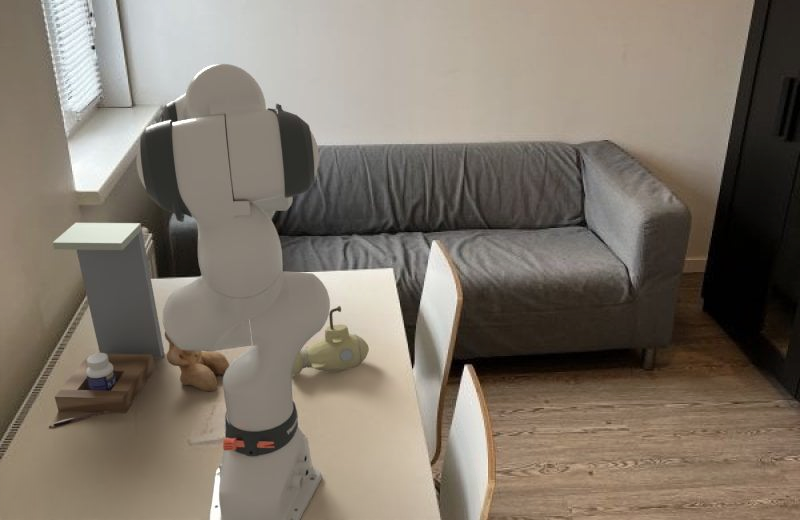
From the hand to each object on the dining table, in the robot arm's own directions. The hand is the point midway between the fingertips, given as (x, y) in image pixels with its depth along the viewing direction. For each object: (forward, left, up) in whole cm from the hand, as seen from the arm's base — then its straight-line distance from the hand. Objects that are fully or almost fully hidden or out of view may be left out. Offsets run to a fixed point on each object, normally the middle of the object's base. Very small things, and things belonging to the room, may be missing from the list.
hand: (243, 230), depth 151 cm
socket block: (-7, +31, -34) cm, 46 cm away
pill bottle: (-9, +31, -34) cm, 46 cm away
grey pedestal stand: (+2, +31, -34) cm, 46 cm away
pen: (-17, +32, -34) cm, 50 cm away
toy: (+3, -15, -34) cm, 37 cm away
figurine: (-2, +13, -34) cm, 36 cm away
